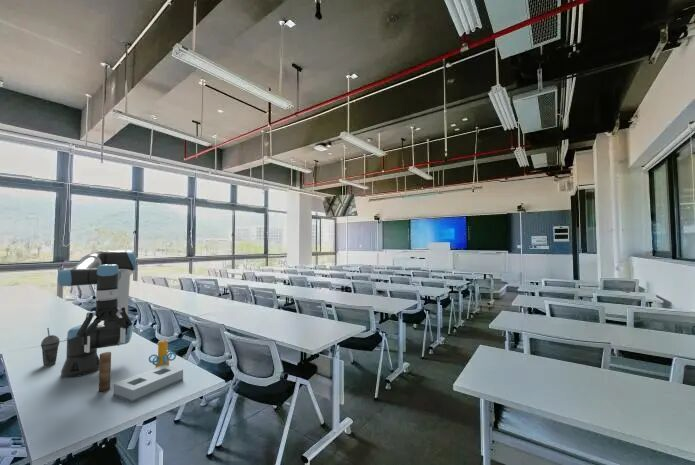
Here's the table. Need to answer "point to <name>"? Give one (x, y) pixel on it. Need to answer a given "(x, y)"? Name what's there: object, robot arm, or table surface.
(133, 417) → the table surface
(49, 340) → the beverage cup
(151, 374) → the hole block
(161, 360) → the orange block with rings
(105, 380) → the pin
